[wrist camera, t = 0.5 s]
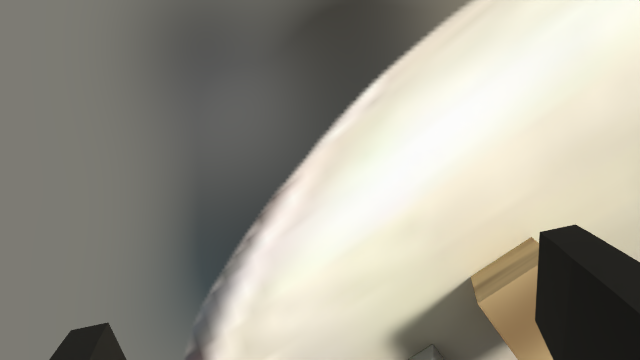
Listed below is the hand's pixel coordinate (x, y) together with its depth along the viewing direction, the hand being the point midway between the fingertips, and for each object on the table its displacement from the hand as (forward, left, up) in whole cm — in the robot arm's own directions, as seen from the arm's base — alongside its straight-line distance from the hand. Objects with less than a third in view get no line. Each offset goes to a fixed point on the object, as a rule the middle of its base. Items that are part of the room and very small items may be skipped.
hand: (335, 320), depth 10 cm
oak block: (-7, -2, -24) cm, 26 cm away
